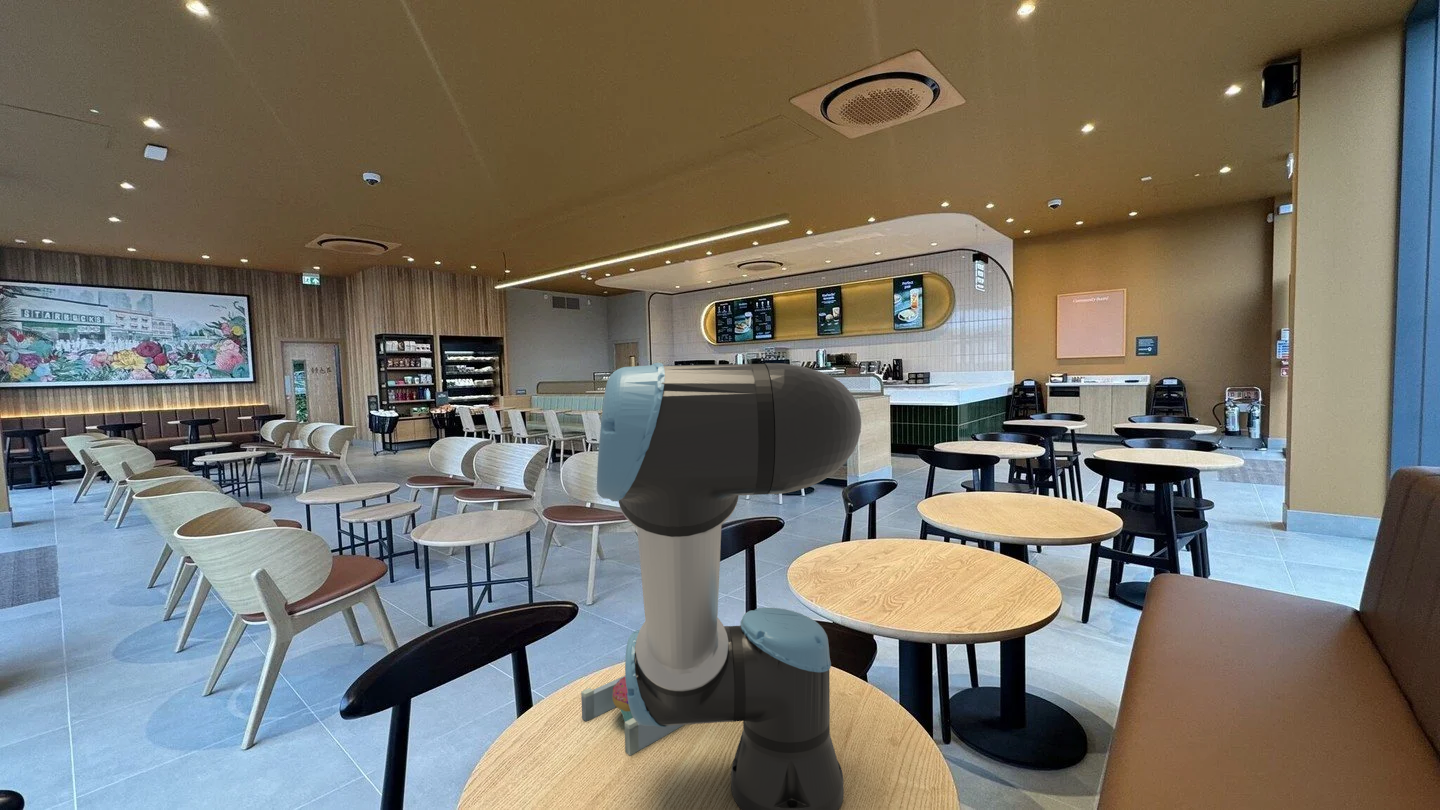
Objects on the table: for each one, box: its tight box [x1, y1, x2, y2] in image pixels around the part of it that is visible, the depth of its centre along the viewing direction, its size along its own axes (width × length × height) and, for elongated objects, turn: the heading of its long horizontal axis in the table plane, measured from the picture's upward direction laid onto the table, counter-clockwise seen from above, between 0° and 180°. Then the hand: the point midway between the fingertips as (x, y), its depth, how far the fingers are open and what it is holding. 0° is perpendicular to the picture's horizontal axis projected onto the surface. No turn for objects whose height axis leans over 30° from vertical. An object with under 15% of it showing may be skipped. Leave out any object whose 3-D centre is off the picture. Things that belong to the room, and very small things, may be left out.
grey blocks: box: [580, 675, 684, 756], centre depth 96 cm, size 13×14×5 cm
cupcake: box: [612, 676, 633, 723], centre depth 95 cm, size 9×8×12 cm
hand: (684, 587), depth 102 cm, fingers open, 7 cm apart
